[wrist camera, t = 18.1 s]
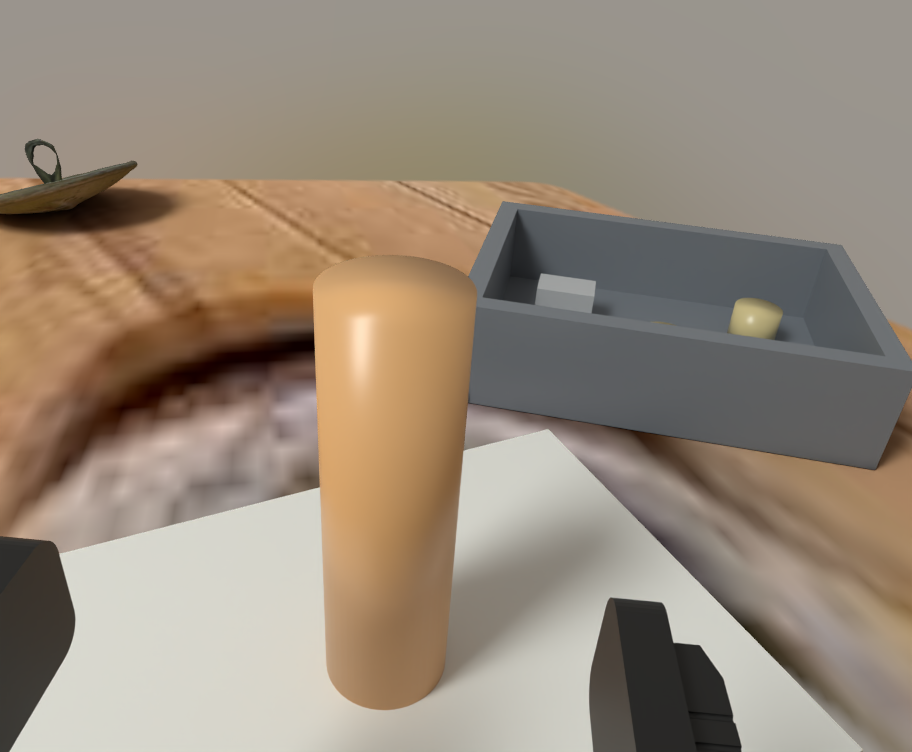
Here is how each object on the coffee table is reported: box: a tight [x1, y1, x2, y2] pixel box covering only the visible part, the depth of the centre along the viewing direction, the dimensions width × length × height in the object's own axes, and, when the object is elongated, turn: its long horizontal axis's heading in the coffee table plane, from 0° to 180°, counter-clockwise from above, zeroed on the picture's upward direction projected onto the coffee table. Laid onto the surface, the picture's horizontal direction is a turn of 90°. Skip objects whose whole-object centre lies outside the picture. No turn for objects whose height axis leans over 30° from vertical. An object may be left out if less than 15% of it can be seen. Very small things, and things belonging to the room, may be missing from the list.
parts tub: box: [468, 201, 912, 470], centre depth 40 cm, size 19×14×5 cm
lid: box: [0, 139, 137, 214], centre depth 51 cm, size 11×10×5 cm
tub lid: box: [10, 255, 863, 752], centre depth 19 cm, size 20×15×14 cm
